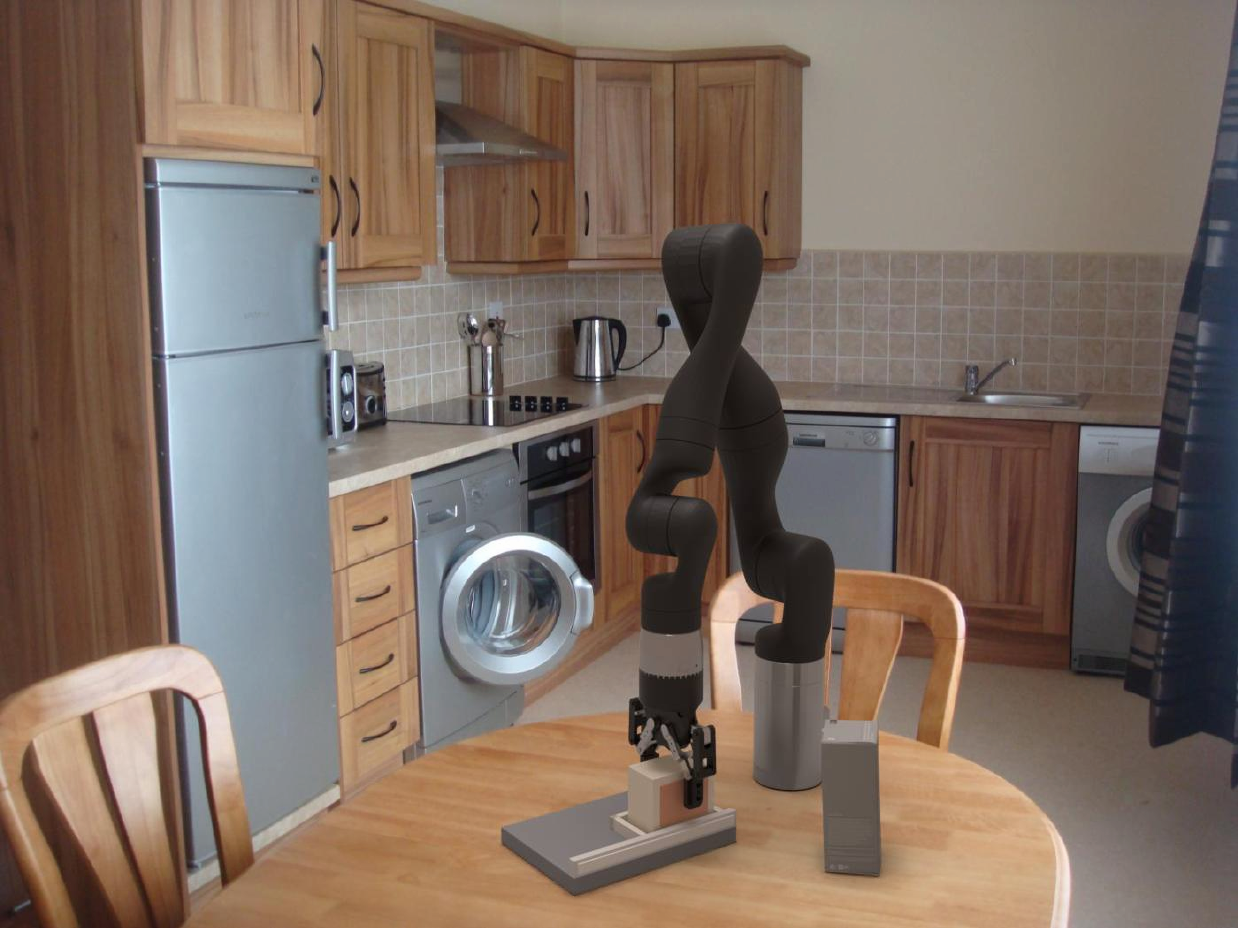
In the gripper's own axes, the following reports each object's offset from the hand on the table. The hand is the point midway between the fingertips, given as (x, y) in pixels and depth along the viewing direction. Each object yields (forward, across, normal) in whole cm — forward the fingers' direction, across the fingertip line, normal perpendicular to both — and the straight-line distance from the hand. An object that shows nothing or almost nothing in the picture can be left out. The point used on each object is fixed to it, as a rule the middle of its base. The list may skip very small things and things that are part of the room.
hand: (670, 794), depth 161 cm
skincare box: (+6, -15, -14) cm, 22 cm away
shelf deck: (+6, +4, +5) cm, 9 cm away
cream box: (+4, 0, 0) cm, 4 cm away
